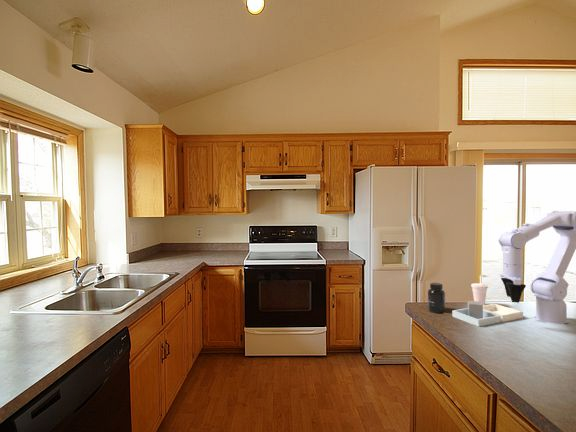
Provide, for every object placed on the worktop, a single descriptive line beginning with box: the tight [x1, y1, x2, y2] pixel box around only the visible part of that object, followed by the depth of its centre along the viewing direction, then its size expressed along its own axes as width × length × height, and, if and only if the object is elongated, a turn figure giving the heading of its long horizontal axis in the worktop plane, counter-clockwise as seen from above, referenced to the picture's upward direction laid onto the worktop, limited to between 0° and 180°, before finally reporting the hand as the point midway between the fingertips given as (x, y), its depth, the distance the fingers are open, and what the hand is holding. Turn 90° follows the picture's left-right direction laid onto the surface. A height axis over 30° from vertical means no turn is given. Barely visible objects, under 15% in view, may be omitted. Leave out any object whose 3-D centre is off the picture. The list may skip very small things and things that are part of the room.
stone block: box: [467, 300, 483, 319], centre depth 115 cm, size 4×4×6 cm
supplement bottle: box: [427, 282, 446, 314], centre depth 127 cm, size 7×7×12 cm
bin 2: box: [483, 303, 524, 323], centre depth 119 cm, size 11×11×3 cm
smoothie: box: [470, 274, 489, 305], centre depth 133 cm, size 6×6×14 cm
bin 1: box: [451, 307, 502, 327], centre depth 115 cm, size 11×11×3 cm
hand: (512, 299), depth 111 cm, fingers open, 7 cm apart
